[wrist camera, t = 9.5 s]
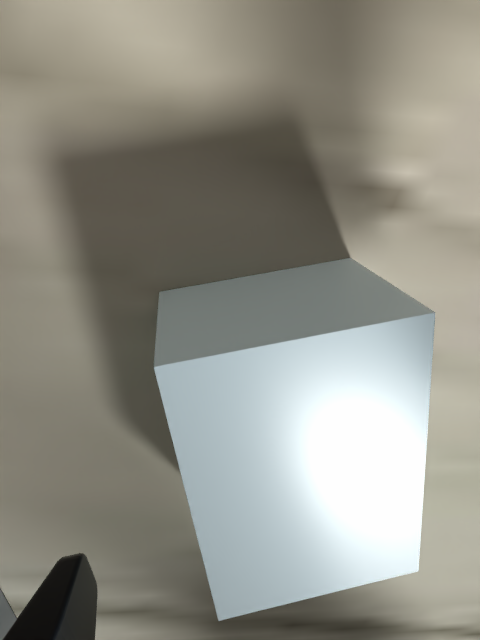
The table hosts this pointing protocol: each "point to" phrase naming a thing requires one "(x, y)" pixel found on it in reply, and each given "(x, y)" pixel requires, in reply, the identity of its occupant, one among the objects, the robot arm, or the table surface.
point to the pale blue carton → (298, 428)
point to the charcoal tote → (5, 616)
